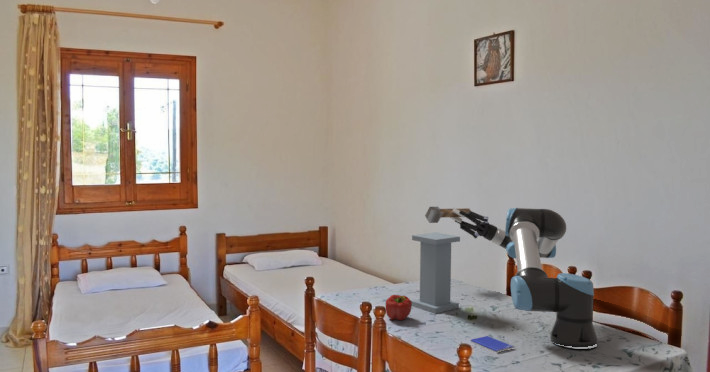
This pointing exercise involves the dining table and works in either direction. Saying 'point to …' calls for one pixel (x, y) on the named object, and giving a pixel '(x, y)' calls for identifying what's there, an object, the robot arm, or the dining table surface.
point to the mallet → (441, 213)
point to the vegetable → (398, 307)
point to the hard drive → (491, 344)
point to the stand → (435, 272)
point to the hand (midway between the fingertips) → (451, 212)
